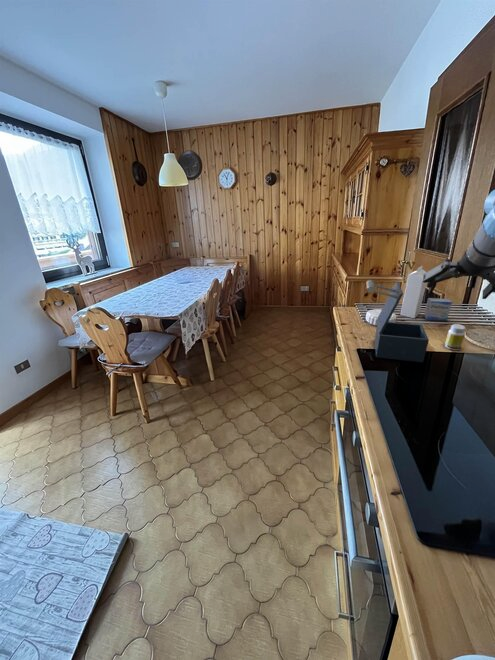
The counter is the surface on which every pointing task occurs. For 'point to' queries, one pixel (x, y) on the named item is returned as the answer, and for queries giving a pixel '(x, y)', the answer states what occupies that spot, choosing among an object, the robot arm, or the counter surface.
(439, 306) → the medicine box
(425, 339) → the compartment
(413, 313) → the milk
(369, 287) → the compartment lid
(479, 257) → the robot arm
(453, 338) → the supplement bottle
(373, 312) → the mooncake
